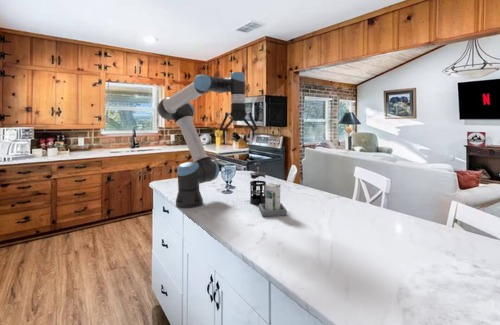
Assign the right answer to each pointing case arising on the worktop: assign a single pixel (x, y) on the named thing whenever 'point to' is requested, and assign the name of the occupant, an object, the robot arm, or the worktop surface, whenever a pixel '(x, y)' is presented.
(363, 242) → the worktop surface
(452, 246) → the worktop surface
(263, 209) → the tray
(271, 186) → the syrup box
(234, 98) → the robot arm
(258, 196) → the french press
